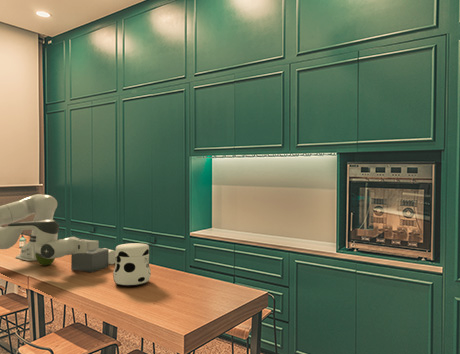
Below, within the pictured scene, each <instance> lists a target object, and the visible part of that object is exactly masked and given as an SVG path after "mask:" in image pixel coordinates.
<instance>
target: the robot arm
mask: <svg viewBox="0 0 460 354" xmlns="http://www.w3.org/2000/svg"><path fill="white" fill-rule="evenodd" d="M57 207H58V201H57V199H56V198H55V197H54V196H52V195H49V194H40V193H37V194H33V195H31V196H28V197H24V198H23V199H20V200H16V201H13V202H9V203H6V204H3V205H0V250H9V249H10V248H13V246H15V245H16V244H17V242H18V241H19V239H20V236H21V235H22V233H23V232H24V231H25V230H31V235H29V236H28V237H27V238H28V239H29V240H28V242H26V243H25V244H24V245H23V246H22V247H21V248H20V254H18V255H16V256H15V258H16V259H18V260H23V261H27V262H30V261H31V262H32V261H37V259H36V255H35V254H38V255H39V256H40V257H42V258H46V259H53V258H55V259H59V258H63V257H65V256H71V255H72V254H77V253H86V252H87V251H91V250H94V249H97V248H100V247H99V243H100V242H99V240H92V239H91V240H90V239H84V238H79V237H76V236H69V237H65V238H63V239H62V238H61V239H60V238H59V239H58V237H59V236H58V234H59V229H60V225H59V223H58V222H57V221H56V220H54V215H55V212H56V209H57ZM32 215H34V217H33V220H29V221H25V219H26V218H28V217H30V216H32ZM22 220H24V221H22ZM4 225H7V226H5V227H2V226H4Z"/></svg>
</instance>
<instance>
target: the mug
mask: <svg viewBox="0 0 460 354" xmlns="http://www.w3.org/2000/svg"><path fill="white" fill-rule="evenodd" d="M103 249H107V248H106V247H103ZM108 249H109V248H108ZM115 255H116V250H113V249H109V254H108V265H115V262H116V260H115Z"/></svg>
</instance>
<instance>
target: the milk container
mask: <svg viewBox="0 0 460 354" xmlns="http://www.w3.org/2000/svg"><path fill="white" fill-rule="evenodd" d="M115 251H116V255H115V260H116V262H115V263H114V269H113V272H112V276H113V278H112V279H113V281H114V284H116V285H118V286H120V287H121V286H122V287H128V288H129V287H137V286H141V285H145V284H146V283H148V282H149V281H150V279H151V275H152V273H151V268H150V267H151V266H150V246H149V244H146V243H142V242H141V243H139V242H138V243H135V242H134V243H124V244H119V245H116V247H115Z"/></svg>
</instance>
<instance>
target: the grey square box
mask: <svg viewBox="0 0 460 354" xmlns="http://www.w3.org/2000/svg"><path fill="white" fill-rule="evenodd" d="M103 248H104V247H103ZM103 248H100V247H98V248H97V249H95V251H91V252H90V251H87V252H86V253H77V254H72V255H70V256H71V258H70V260H71V265H70V266H71V269H70V270H73V271H79V272H85V273H95V272H97V271H100V270H103V269H106V268H109V264H108V254H109V248H106V249H103Z"/></svg>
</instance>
